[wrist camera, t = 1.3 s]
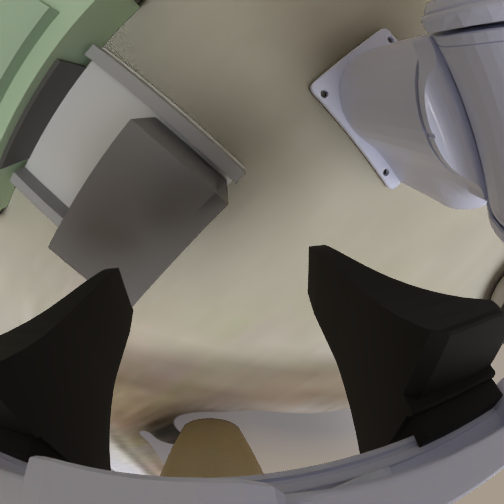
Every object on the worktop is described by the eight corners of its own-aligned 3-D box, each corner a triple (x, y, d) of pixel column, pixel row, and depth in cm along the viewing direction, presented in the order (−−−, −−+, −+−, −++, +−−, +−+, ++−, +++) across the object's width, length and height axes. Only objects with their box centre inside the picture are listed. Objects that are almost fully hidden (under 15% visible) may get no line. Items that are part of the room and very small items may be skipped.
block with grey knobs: (296, 116, 17) (330, 118, 11) (113, 310, 22) (91, 363, 17) (85, -43, 9) (49, -75, 3) (-43, 163, 14) (-88, 184, 9)
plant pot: (283, 439, 35) (301, 537, 21) (190, 456, 36) (190, 545, 22) (244, 387, 28) (260, 532, 14) (130, 411, 29) (114, 527, 15)
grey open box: (226, 180, 18) (228, 203, 13) (146, 267, 20) (129, 310, 15) (155, 117, 15) (130, 118, 11) (82, 215, 18) (48, 247, 13)
